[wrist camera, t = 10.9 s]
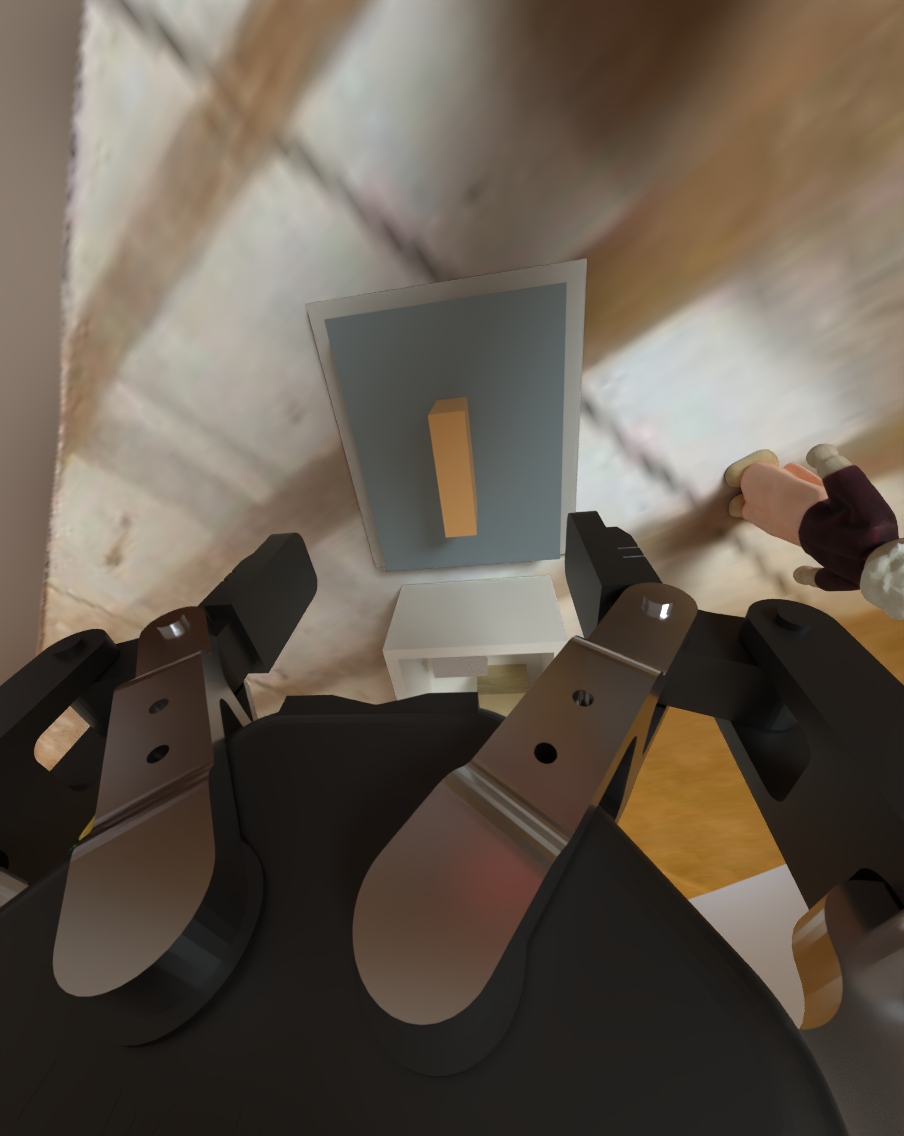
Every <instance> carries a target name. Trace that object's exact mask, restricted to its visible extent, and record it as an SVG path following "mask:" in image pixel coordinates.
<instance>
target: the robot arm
mask: <svg viewBox="0 0 904 1136" xmlns="http://www.w3.org/2000/svg"><path fill="white" fill-rule="evenodd" d="M565 574H566V580H567V583H568V587H569V590H570V593H571V596H572V600H573V603H574V606H575V609H576V613H577V616H578V619H579V622H580V625H581V629H582V632H583V635H584V638H582V637H580V636H574V637H572V638H571V639H570V640H569V641H568V642H567V643H566V645H565V646H564V647H563V648H562V650H561V651H560V652H559V653H558V655H557V656H556V657H555V658H554V659H553V661H552V662H551V663H550V664H549V666H548V667H547V668H546V669H545V670H544V672H543V673H542V674H541V675H540V677H539V678H538V679H537V680H536V682H535V683H534V684H533V685H532V686H531V688H530V689H529V690H528V691H527V693H526V694H525V695H524V696H523V697H522V699H521V700H520V701H519V702H518V704H517V705H516V706H515V707H514V709H513V710H512V711H511V712H510V713H509V715H508V716H507V717H506V716H504V715H501V714H499V713H496V712H494V711H491V710H488V709H483V708H480V705H479V697H478V692H448V693H426V694H422V695H418V696H414V697H409V698H405V699H401V700H397V701H392V702H388V703H384V704H379V705H374V704H369V703H364V702H360V701H356V700H351V699H347V698H343V697H338V696H334V695H307V696H287V697H286V699H285V701H284V703H283V705H282V707H281V708H280V710H279V712H277V713H274V714H271V715H268V716H265V717H262V718H260V719H258V718H257V714H256V710H255V706H254V702H253V698H252V695H251V691H250V687H249V685H248V683H247V682H246V680H245V678H246V676H247V675H248V673H269V671H270V670H271V668H272V666H273V665H274V663H275V661H276V660H277V658H278V656H279V655H280V653H281V651H282V650H283V648H284V646H285V645H286V643H287V641H288V640H289V638H290V636H291V634H292V633H293V631H294V629H295V628H296V626H297V624H298V623H299V621H300V619H301V618H302V616H303V614H304V613H305V611H306V609H307V608H308V606H309V604H310V603H311V601H312V599H313V598H314V596H315V594H316V591H317V576H316V573H315V570H314V568H313V565H312V562H311V560H310V557H309V554H308V551H307V549H306V546H305V543H304V541H303V539H302V537H301V536H300V535H299V534H298V533H285V534H273V535H271V536H269V537H268V538H267V540H266V541H265V542H264V543H263V544H262V545H261V546H260V547H259V548H258V549H257V550H256V551H255V552H254V553H253V554H252V555H250V556H248V557H247V558H245V559H244V560H242V561H241V562H240V563H239V564H238V565H237V566H236V567H235V568H234V569H233V570H232V573H229V574H228V576H227V577H226V578H225V579H224V581H222V582H221V583H220V584H219V585H218V586H217V587H216V588H215V589H214V590H213V591H212V592H211V593H210V594H209V595H208V596H207V597H206V598H205V599H204V600H203V601H202V602H201V603H200V604H199V605H198V606H197V607H196V606H190V607H183V608H179V609H176V610H173V611H171V612H168V613H166V614H164V615H162V616H160V617H158V618H157V619H155V620H154V621H152V622H151V623H150V624H149V625H147V626H146V627H145V628H144V630H143V631H142V632H141V634H140V637H139V638H138V639H134V640H130V641H126V642H122V643H118V644H115V643H114V642H113V640H112V639H111V638H110V637H109V635H108V634H107V633H106V632H105V631H104V630H102V629H91V630H86V631H82V632H79V633H76V634H73V635H71V636H68V637H66V638H64V639H62V640H60V641H58V642H56V643H55V644H53V645H51V646H50V647H48V648H47V649H45V650H44V651H43V652H42V653H40V654H39V655H38V656H37V657H35V658H34V659H33V660H32V661H30V662H29V663H28V664H27V665H26V666H24V667H23V668H22V669H21V670H19V671H18V672H17V673H16V674H15V675H13V676H12V677H11V678H10V679H8V680H7V681H6V682H5V683H3V684H2V685H1V686H0V1136H904V685H903V684H902V683H901V682H900V681H899V680H897V679H896V678H895V677H894V676H893V675H892V674H891V673H890V672H889V671H888V670H887V669H886V668H885V667H884V666H883V665H882V664H881V663H880V662H879V661H878V660H877V659H876V658H875V657H874V656H873V655H872V654H871V653H869V652H868V651H867V650H866V649H865V648H864V647H863V646H862V645H861V644H860V643H859V642H858V641H857V640H856V639H855V638H854V637H853V636H852V635H851V634H850V633H849V632H848V631H847V630H846V629H845V628H844V627H842V626H841V625H840V624H839V623H838V622H837V621H836V620H835V619H834V618H832V617H831V616H829V615H828V614H826V613H824V612H822V611H820V610H818V609H816V608H814V607H811V606H808V605H806V604H802V603H799V602H795V601H790V600H782V599H766V600H760V601H757V602H755V603H753V604H752V605H751V606H750V607H749V609H748V611H747V614H746V616H745V618H744V617H737V616H731V615H724V614H717V613H711V612H706V611H702V610H698V607H697V604H696V602H695V601H694V599H693V598H692V597H691V596H689V595H688V594H687V593H685V592H684V591H682V590H680V589H678V588H676V587H673V586H670V585H666V584H663V583H662V582H661V580H660V579H659V577H658V576H657V574H656V573H655V571H654V570H653V568H652V567H651V565H650V564H649V562H648V560H647V559H646V557H644V554H643V553H642V551H641V550H640V548H638V545H637V544H636V542H635V541H634V539H633V538H632V536H631V535H630V534H628V533H626V532H625V531H623V530H621V529H620V528H618V527H606V526H605V525H604V523H603V521H602V519H601V518H600V516H599V514H598V512H597V511H588V512H574V513H568V516H567V527H566V548H565ZM69 706H71V707H72V708H73V709H74V710H75V711H76V712H77V713H78V714H79V715H80V716H81V717H82V718H83V719H84V720H85V721H86V722H87V723H88V724H89V725H90V727H89V728H88V729H87V731H86V732H85V733H84V734H83V735H82V736H81V737H80V738H79V740H78V741H77V742H76V743H75V744H74V745H73V746H72V747H71V749H70V750H69V751H68V752H67V753H66V754H65V755H64V756H63V758H62V759H61V760H60V761H59V762H58V763H57V764H56V765H55V766H54V768H53V769H52V770H51V771H48V770H47V769H46V768H45V767H43V766H42V765H41V764H40V763H38V762H37V760H36V759H35V757H34V747H35V744H36V742H37V740H38V738H39V737H40V736H41V734H42V733H43V732H44V731H45V730H46V729H47V728H48V727H49V726H50V725H51V724H52V723H53V722H54V721H55V720H56V719H57V718H58V717H59V716H60V715H61V714H62V713H63V712H64V711H65V710H66V709H67V708H68V707H69ZM670 706H671V707H675V708H679V709H683V710H688V711H692V712H696V713H700V714H704V715H708V716H712V717H714V718H715V720H716V722H717V724H718V726H719V728H720V730H721V732H722V734H723V736H724V738H725V740H726V742H727V744H728V746H729V748H730V751H731V753H732V755H733V757H734V759H735V761H736V763H737V765H738V767H739V769H740V771H741V773H742V775H743V777H744V779H745V781H746V783H747V785H748V787H749V789H750V791H751V793H752V795H753V797H754V799H755V801H756V803H757V805H758V807H759V809H760V811H761V813H762V815H763V817H764V819H765V821H766V823H767V825H768V828H769V830H770V832H771V834H772V836H773V838H774V840H775V842H776V844H777V846H778V848H779V850H780V852H781V854H782V856H783V858H784V860H785V862H786V864H787V866H788V868H789V870H790V872H791V874H792V876H793V878H794V880H795V882H796V884H797V886H798V888H799V890H800V892H801V894H802V896H803V898H804V900H805V902H806V905H807V907H808V909H809V911H808V912H807V913H806V914H805V915H804V916H802V917H801V918H800V919H799V921H798V922H797V924H796V925H795V927H794V931H793V935H792V950H793V956H794V960H795V963H796V967H797V970H798V973H799V976H800V979H801V983H802V987H803V993H804V1000H805V1012H804V1017H803V1023H802V1025H801V1027H800V1029H798V1028H797V1027H796V1026H795V1024H794V1022H793V1021H792V1019H791V1018H790V1017H789V1015H788V1013H787V1012H786V1011H785V1009H784V1008H783V1006H782V1005H781V1003H780V1002H779V1001H778V999H777V998H776V997H775V996H774V994H773V993H772V992H771V990H770V989H769V988H768V987H767V986H766V984H765V983H764V982H763V981H762V980H761V978H760V977H759V976H758V975H757V974H756V973H755V971H753V969H752V968H751V967H750V966H749V965H748V964H747V963H746V962H745V961H744V960H743V958H741V956H740V955H739V954H738V953H737V952H736V951H735V950H734V949H733V948H732V947H731V946H730V945H729V944H728V942H727V941H726V940H725V939H724V938H723V937H722V936H721V935H720V934H719V933H718V932H717V931H716V930H715V929H714V928H713V926H712V925H711V924H710V923H709V922H708V921H707V920H706V919H705V918H704V917H703V916H702V915H701V914H700V913H699V912H698V910H697V909H696V908H695V907H694V906H693V905H692V904H691V903H690V902H689V901H688V900H687V899H686V898H685V897H684V895H683V894H682V893H681V892H680V891H679V890H678V889H677V888H676V887H675V886H674V885H673V884H672V883H671V882H670V880H669V879H668V878H667V877H666V876H665V875H664V874H663V873H662V872H661V871H660V870H659V869H658V868H657V867H656V865H655V864H654V863H653V862H652V861H651V860H650V859H649V858H648V857H647V856H646V855H645V854H644V853H643V852H642V850H641V849H640V848H639V847H638V846H637V845H636V844H635V843H634V842H633V841H632V840H631V839H630V838H629V837H628V835H627V834H626V833H625V832H624V831H623V830H622V829H621V828H620V827H619V826H618V825H617V824H618V822H619V820H620V818H621V815H622V813H623V811H624V809H625V807H626V804H627V802H628V800H629V797H630V795H631V792H632V789H633V787H634V784H635V781H636V778H637V776H638V773H639V771H640V768H641V766H642V764H643V762H644V760H645V758H646V755H647V753H648V751H649V749H650V747H651V745H652V743H653V741H654V738H655V736H656V734H657V732H658V730H659V728H660V726H661V724H662V721H663V719H664V717H665V715H666V713H667V711H668V709H669V707H670ZM94 816H95V821H94V825H93V828H92V830H91V831H90V832H89V834H87V835H86V836H84V837H83V838H82V839H81V840H80V841H79V842H78V843H77V845H76V847H75V849H74V851H73V853H72V854H70V855H69V856H68V857H66V858H65V859H64V857H65V856H66V855H67V853H68V852H69V850H70V849H71V848H72V846H73V845H74V843H75V842H76V841H77V839H78V838H79V837H80V835H81V834H82V832H83V831H84V830H85V828H86V827H87V825H88V824H89V823H90V821H91V820H92V819H93V817H94ZM63 859H64V860H63Z"/></svg>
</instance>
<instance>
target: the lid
mask: <svg viewBox="0 0 904 1136" xmlns="http://www.w3.org/2000/svg"><path fill="white" fill-rule="evenodd" d="M566 290H567V282H563V283H557V284H550V285H544V286H537V287H531V288H525V289H518V290H512V291H505V292H499V293H492V294H486V295H479V296H473V297H466V298H460V299H453V300H447V301H440V302H434V303H427V304H421V305H414V306H408V307H401V308H395V309H389V310H382V311H376V312H369V313H363V314H356V315H350V316H343V317H337V318H330V319H324V322H325V326H326V330H327V334H328V338H329V342H330V346H331V350H332V354H333V358H334V362H335V366H336V370H337V374H338V378H339V382H340V386H341V390H342V394H343V398H344V402H345V406H346V410H347V414H348V418H349V422H350V426H351V430H352V434H353V438H354V442H355V446H356V450H357V454H358V458H359V462H360V466H361V470H362V474H363V478H364V483H365V487H366V491H367V495H368V499H369V503H370V507H371V511H372V515H373V519H374V523H375V527H376V531H377V535H378V539H379V543H380V547H381V551H382V555H383V559H384V563H385V567H386V571H400V570H414V569H428V568H441V567H455V566H469V565H483V564H497V563H511V562H524V561H538V560H552V559H560V533H561V493H562V452H563V412H564V371H565V331H566Z"/></svg>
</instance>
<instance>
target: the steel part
mask: <svg viewBox="0 0 904 1136" xmlns="http://www.w3.org/2000/svg"><path fill="white" fill-rule="evenodd" d="M431 663H432V667H433V672H434V677H435V678H447V677H473V676H488V655H485V656H463V657H440V658H431Z"/></svg>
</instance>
